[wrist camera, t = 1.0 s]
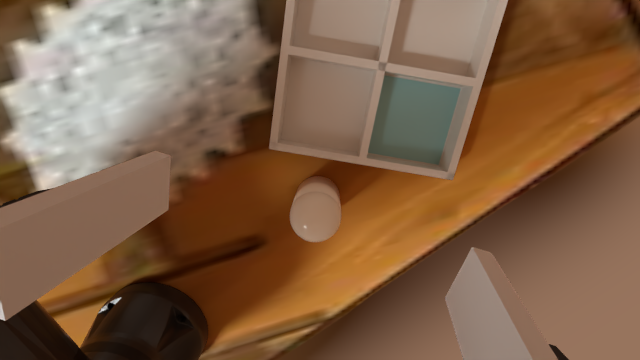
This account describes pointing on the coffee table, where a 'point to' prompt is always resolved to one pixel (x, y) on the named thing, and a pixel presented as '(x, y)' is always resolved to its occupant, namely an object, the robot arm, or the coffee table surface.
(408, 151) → the divided tray
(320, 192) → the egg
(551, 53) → the coffee table surface
